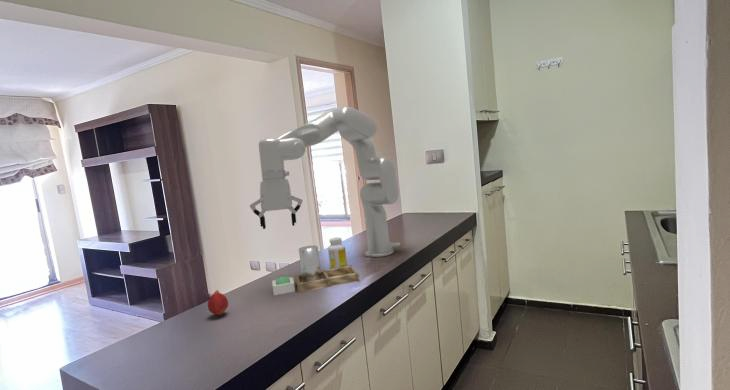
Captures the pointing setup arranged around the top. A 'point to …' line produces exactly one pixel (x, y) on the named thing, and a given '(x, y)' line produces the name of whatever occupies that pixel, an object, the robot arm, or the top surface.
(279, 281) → the button
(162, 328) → the top surface
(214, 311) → the onion
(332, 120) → the robot arm
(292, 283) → the button console
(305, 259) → the drinking glass
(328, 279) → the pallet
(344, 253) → the supplement bottle
